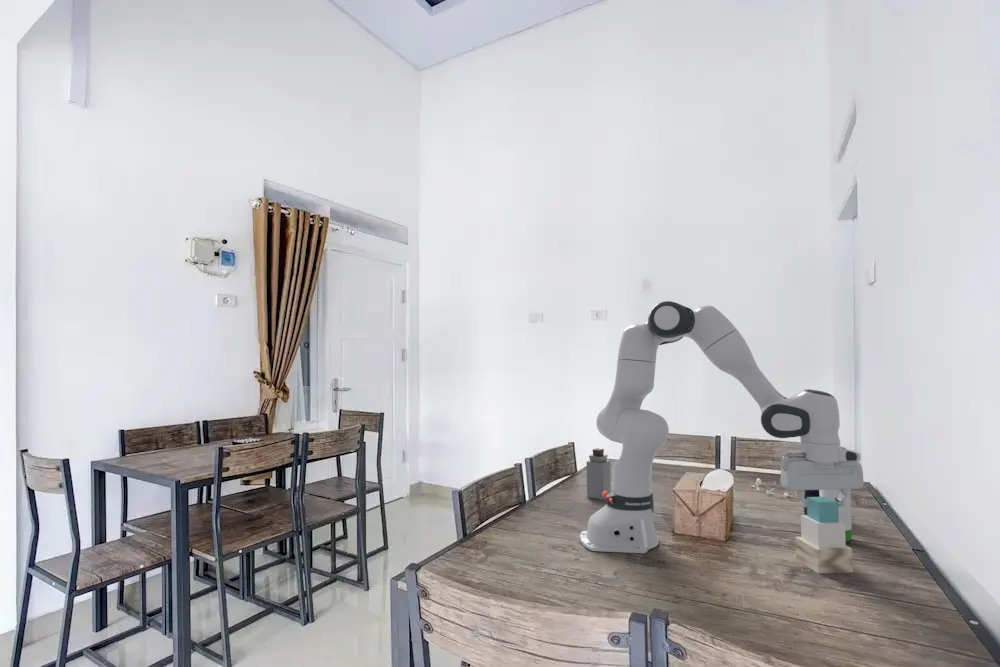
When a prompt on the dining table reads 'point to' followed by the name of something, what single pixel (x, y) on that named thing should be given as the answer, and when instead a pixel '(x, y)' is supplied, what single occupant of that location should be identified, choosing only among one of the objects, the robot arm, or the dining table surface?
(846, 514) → the wine bottle
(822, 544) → the white middle block
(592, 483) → the perfume bottle
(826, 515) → the teal cube
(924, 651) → the dining table surface
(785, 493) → the game piece set
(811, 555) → the birch base block
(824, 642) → the dining table surface
